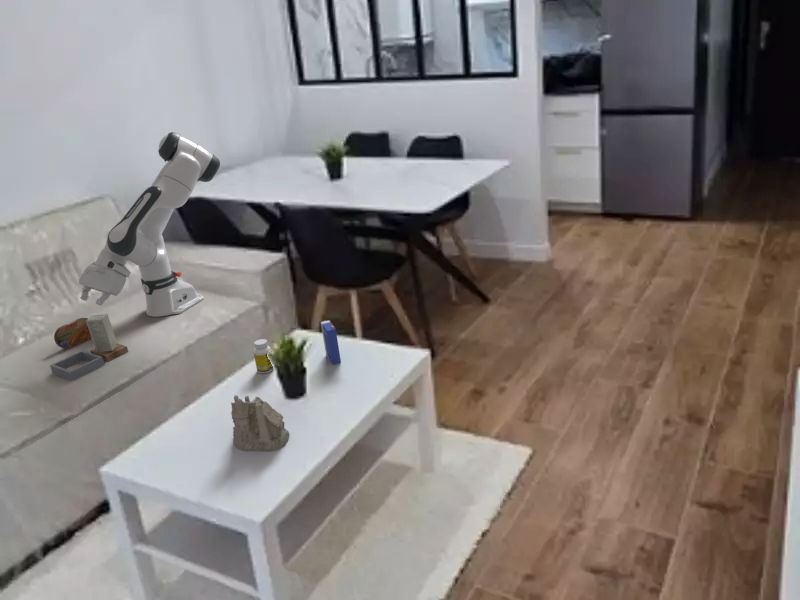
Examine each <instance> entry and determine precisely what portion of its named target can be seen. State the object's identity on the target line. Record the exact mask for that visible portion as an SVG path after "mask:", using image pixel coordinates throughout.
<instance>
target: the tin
mask: <svg viewBox="0 0 800 600" xmlns="http://www.w3.org/2000/svg"><path fill="white" fill-rule="evenodd" d="M88 318H89V317H79V318H76V319H75V320H72V321H70V322H69V323H65V324H64V325H61V326H59V327H58V328H57V329H56V331H55V332H54V336H53V341H54V342H55V345H56V346H57V347H59V348H61V349H63V350H64V349H65V350H70V349H73V348H75V347H77V346H79V345H81V344H83V343H85V342H87V341H90V340H92V338H91V335H90V332H89V328H88V325H87V323H86V320H87V319H88Z"/></svg>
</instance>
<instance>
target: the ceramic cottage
mask: <svg viewBox="0 0 800 600" xmlns="http://www.w3.org/2000/svg"><path fill="white" fill-rule="evenodd" d="M233 401H234V402H230V404H231V405H230V406H231V419H232V422H233V424H234V426H233V427H232V429H233V432H232V433H233V434H232V436H233V446H234V447H235V448H236V449H237V450H240V451H242V452H274V451H277V450H280V449H282V448H283V447H285V446H286V444H288V442H289V439H290V436H291V435H290V431H289V430H288V429H286V428H285V422H284V420H283V419H284V416H283V415H282V414H281V413H280V412H278V411H277V410H276V409H275V408H273V407H272V405H270V404H269V403H268V402H267V401H266V400H265V401H264V400H262V398H261V397H259V396H255V398H253V400H252V401H251V400H250V397H249V395H245V397H244V400H243V399H242V398H239V396H238V395H237V394H235V395H234V396H233Z"/></svg>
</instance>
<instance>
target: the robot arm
mask: <svg viewBox="0 0 800 600" xmlns="http://www.w3.org/2000/svg"><path fill="white" fill-rule="evenodd" d="M157 151H158V155H159V157H160V158H161V159H162V160H163V161H164V162H165V164H164V165H163V167H161V170H160V171H159V172H158V174H157V176H155V177H156V178H155V179H154V181H153V182H152V184H151V186H149V187H147V188H146V189H145V190H144V191H143V192H142V193H141V194H140V196H139V197H138V198H137V199H136V201H134V203H133V204H132V206H131V207H130V208H129V209H128V211H127V212H126V214H125V215H124V216H123V218H121V220H120V221H118V223H116V224H115V225H114V226H113V227H112V228H111V230H110V231H109V232H108V234H107V239H106V241H105V245H104V246H103V249H101V251H100V253H99V255H98V257H97V258H96V261H93V262H92V263H90V264H89V265H87V267H86V268H85V269H84V270H83V272H82V273H81V276H80V277H79V279H78V284H79V285H80V286H82V289H81V296H80V297H79V298H80V300H82V301H85V302H87V301H88V299H89V292H91V290H95V291H98V292H102V293H101V296H100V297H99V298H97V299H96V301H95V304H96V305H98V306H100V307H101V306H102V307H103V304H104V303H105V302H106V301H107V300H108V299H109V298H110V296H111V295H112V296H115V297H117V296H119V294H121V292H122V291H123V289H124V286H125V285H126V282H127V278H129V277H130V275H131V271H130V270H129V269H128V267H127V266H126V264H127V262H130V263H133V265H135V266H138V269H139V272H140V277H141V278H140V281H141V285H142V288H143V292H144V294H145V295H144V296H145V301H146V310H145V311H146V315H147V316H148V317H153V318H157V317H158V318H159V317H167V316H170V315H179V314H181V313H184V311H187V310H188V309H189V308H192V307H193V306H194V305H197V303H200V302H201V301H202V300H204V296H203V295H202V294H201V293H199V292H196V289H195V287H194V286H193V285H192V284H191V283H188V282H186V281H184V280H181V279H178V278H181V276H182V272H181V271H172V269H171V264H170V261H169V256H168V254H167V253H168V252H167V249H166V245H165V240H164V237H163V233H164V230H166V227H167V225H168V223H169V221H170V219H171V217H172V214H173V212H174V210H175V209H178V208H181V207H183V206H184V205H185V204H186V203H187V201H188V200H189V198H190V197H191V194H192V192H193V191H194V189H195V187H196V185H197V183H198V182H203V183H209V182H211V181H213V179H215V178H216V177H217V175H219V172H220V168H221V161H220V160H221V159H219V158H218V157H217V156H216V155H215V154H212V153H211V152H210V151H208V150H207V149H206V148H204V147H203V146H201V145H200V144H199V143H195V142H194V141H192V140H190V139H188V138H186V137H184V136H182V135H181V134H180V133H177V132H174V131H172V132H168V133H167V134H166V135H164V136H163V137H162V138H161V140H160V141H159V145H158V150H157Z"/></svg>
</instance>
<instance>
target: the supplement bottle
mask: <svg viewBox="0 0 800 600" xmlns="http://www.w3.org/2000/svg"><path fill="white" fill-rule="evenodd" d="M253 343H254V349H253V356H254V361H255V366H256V371H257V373H258V374H268V373H271V372H272V371H274V369H273V366H272V364H271V362H270V360H269V359H268V357H267V353H268V351H269V350H271V351H272V348H271V346H269V343H268V340H267V339H265V338H261V339H257V340H255V341H254V342H253Z"/></svg>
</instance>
